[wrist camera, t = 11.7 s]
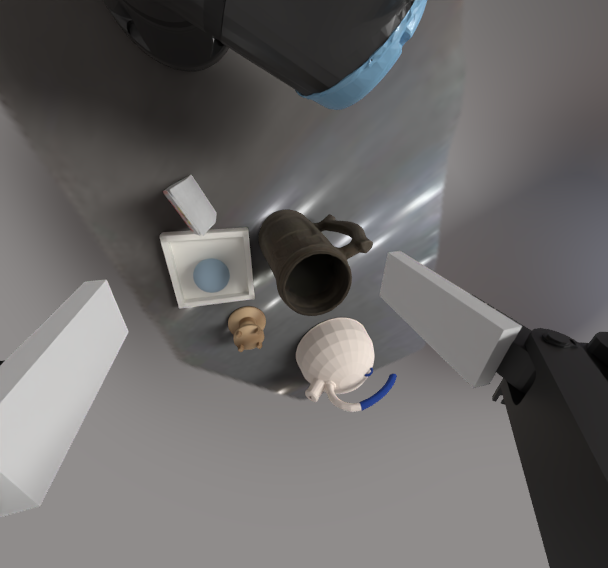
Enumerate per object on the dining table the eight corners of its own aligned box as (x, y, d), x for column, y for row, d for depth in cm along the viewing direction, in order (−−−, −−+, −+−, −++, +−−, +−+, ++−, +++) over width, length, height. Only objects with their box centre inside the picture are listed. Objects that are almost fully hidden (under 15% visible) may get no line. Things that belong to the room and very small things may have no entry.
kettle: (287, 331, 60) (308, 396, 44) (366, 307, 63) (411, 359, 47) (301, 384, 70) (321, 451, 55) (368, 361, 73) (405, 418, 58)
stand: (220, 325, 53) (219, 346, 48) (244, 299, 52) (246, 318, 46) (249, 341, 58) (251, 362, 52) (272, 317, 56) (277, 336, 51)
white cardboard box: (191, 174, 39) (182, 183, 30) (216, 213, 43) (214, 230, 34) (170, 185, 39) (155, 197, 30) (197, 223, 43) (190, 243, 34)
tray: (162, 232, 42) (159, 236, 40) (247, 227, 45) (248, 230, 43) (180, 302, 48) (179, 308, 47) (253, 293, 52) (254, 298, 50)
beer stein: (280, 275, 52) (315, 333, 35) (242, 239, 46) (262, 287, 29) (335, 224, 51) (399, 258, 34) (304, 181, 45) (362, 196, 28)
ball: (192, 254, 44) (187, 268, 39) (227, 251, 45) (227, 265, 40) (198, 284, 47) (194, 301, 42) (231, 280, 48) (231, 296, 43)
